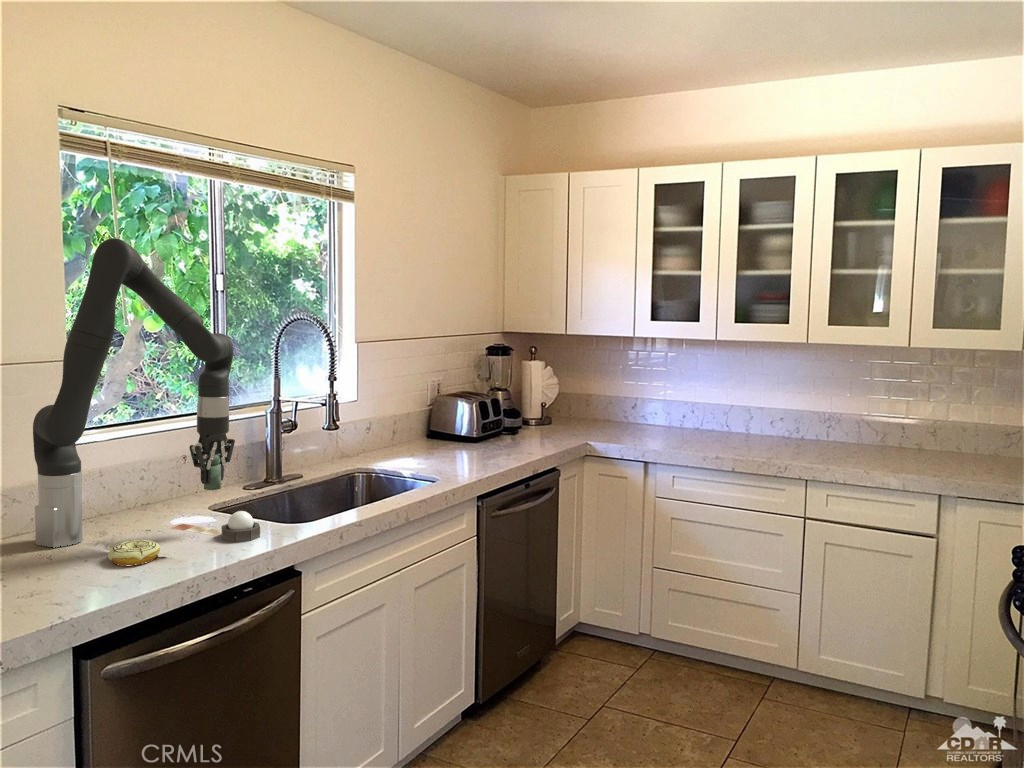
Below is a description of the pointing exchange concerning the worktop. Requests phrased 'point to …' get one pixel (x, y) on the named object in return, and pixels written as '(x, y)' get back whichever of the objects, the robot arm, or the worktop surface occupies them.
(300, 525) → the worktop surface
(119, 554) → the decorated donut
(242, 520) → the white ball
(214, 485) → the pawn
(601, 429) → the worktop surface
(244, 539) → the game board
